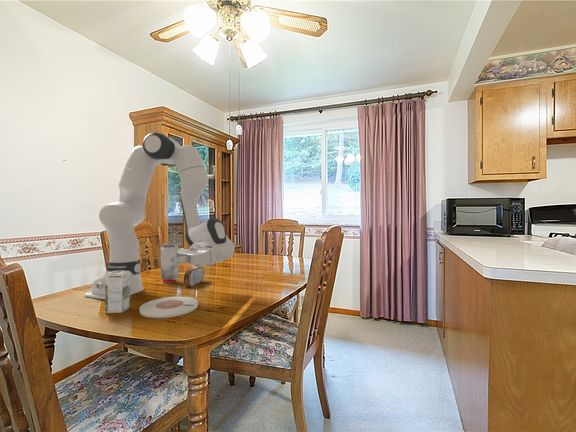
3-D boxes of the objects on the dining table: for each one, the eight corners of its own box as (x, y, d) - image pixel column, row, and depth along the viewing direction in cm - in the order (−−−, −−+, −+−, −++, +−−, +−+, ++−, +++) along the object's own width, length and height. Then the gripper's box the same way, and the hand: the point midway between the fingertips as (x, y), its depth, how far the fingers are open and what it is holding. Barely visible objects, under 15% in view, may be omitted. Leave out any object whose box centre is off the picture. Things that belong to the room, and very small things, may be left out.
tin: (199, 280, 151) (199, 264, 151) (204, 281, 151) (204, 264, 150) (183, 288, 136) (182, 270, 136) (189, 289, 136) (189, 270, 136)
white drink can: (158, 279, 103) (157, 244, 103) (166, 276, 108) (166, 242, 108) (172, 280, 102) (172, 244, 102) (181, 276, 108) (180, 242, 107)
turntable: (126, 316, 98) (126, 311, 98) (160, 299, 116) (160, 294, 116) (181, 319, 95) (181, 314, 95) (206, 301, 113) (206, 297, 113)
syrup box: (113, 311, 107) (112, 270, 106) (130, 310, 107) (129, 270, 107) (104, 316, 101) (104, 274, 101) (123, 316, 102) (122, 273, 101)
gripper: (182, 244, 121) (150, 248, 110) (217, 247, 110) (185, 252, 98) (182, 259, 122) (150, 265, 110) (217, 265, 110) (185, 271, 99)
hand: (167, 259), depth 104 cm, fingers closed on white drink can, 5 cm apart
